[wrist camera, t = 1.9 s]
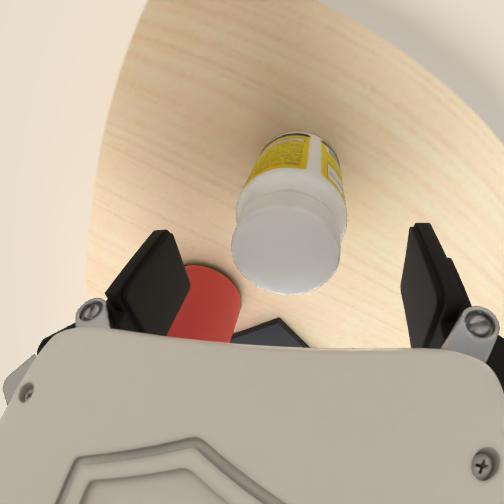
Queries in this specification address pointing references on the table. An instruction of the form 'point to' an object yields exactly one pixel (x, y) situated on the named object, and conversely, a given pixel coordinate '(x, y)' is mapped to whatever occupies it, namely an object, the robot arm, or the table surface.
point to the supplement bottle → (291, 216)
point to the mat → (269, 335)
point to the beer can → (207, 307)
